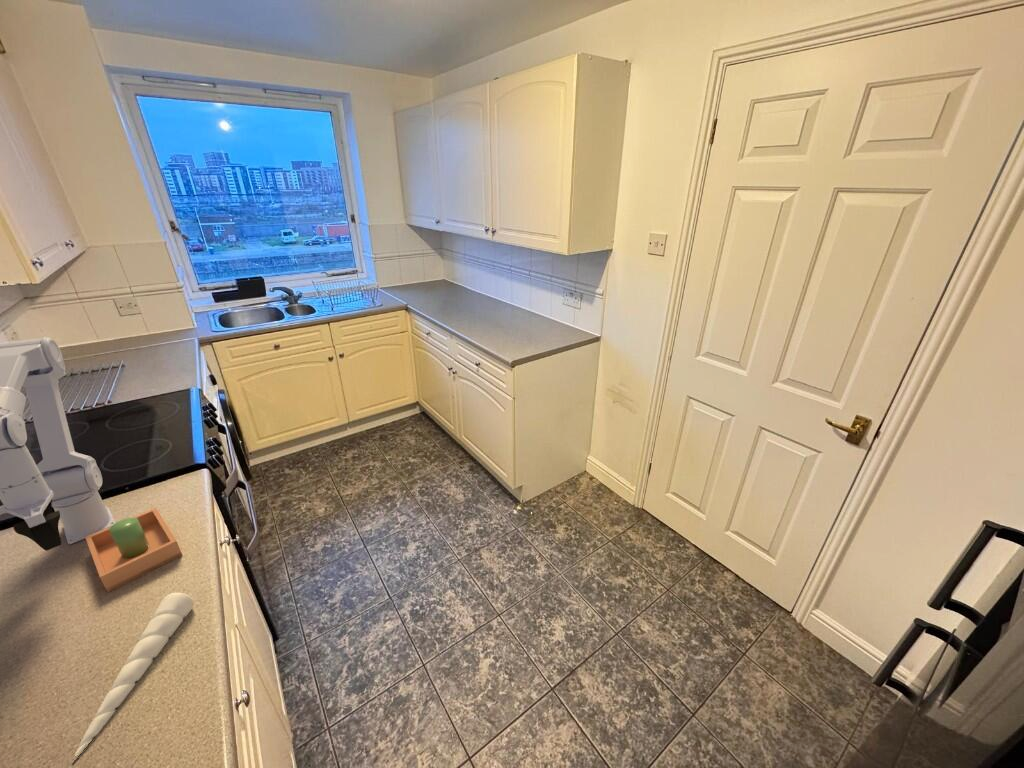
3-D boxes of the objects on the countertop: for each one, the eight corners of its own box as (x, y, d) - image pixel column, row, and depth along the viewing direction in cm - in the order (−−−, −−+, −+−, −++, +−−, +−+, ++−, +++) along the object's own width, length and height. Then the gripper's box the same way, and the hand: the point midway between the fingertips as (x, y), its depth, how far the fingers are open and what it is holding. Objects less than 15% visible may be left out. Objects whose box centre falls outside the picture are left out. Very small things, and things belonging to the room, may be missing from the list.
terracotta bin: (92, 551, 89) (85, 537, 88) (161, 521, 98) (155, 507, 96) (107, 592, 80) (99, 577, 78) (182, 555, 89) (176, 540, 87)
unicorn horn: (44, 766, 56) (28, 746, 54) (172, 608, 78) (164, 589, 76) (81, 765, 56) (65, 745, 54) (198, 607, 78) (190, 589, 76)
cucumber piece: (119, 551, 88) (107, 526, 85) (146, 539, 92) (134, 514, 89) (124, 562, 86) (112, 536, 83) (152, 549, 89) (140, 523, 86)
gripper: (-19, 474, 76) (16, 531, 81) (-16, 508, 67) (23, 569, 73) (37, 457, 81) (66, 512, 86) (46, 487, 72) (79, 546, 78)
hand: (50, 537), depth 80 cm, fingers open, 7 cm apart
